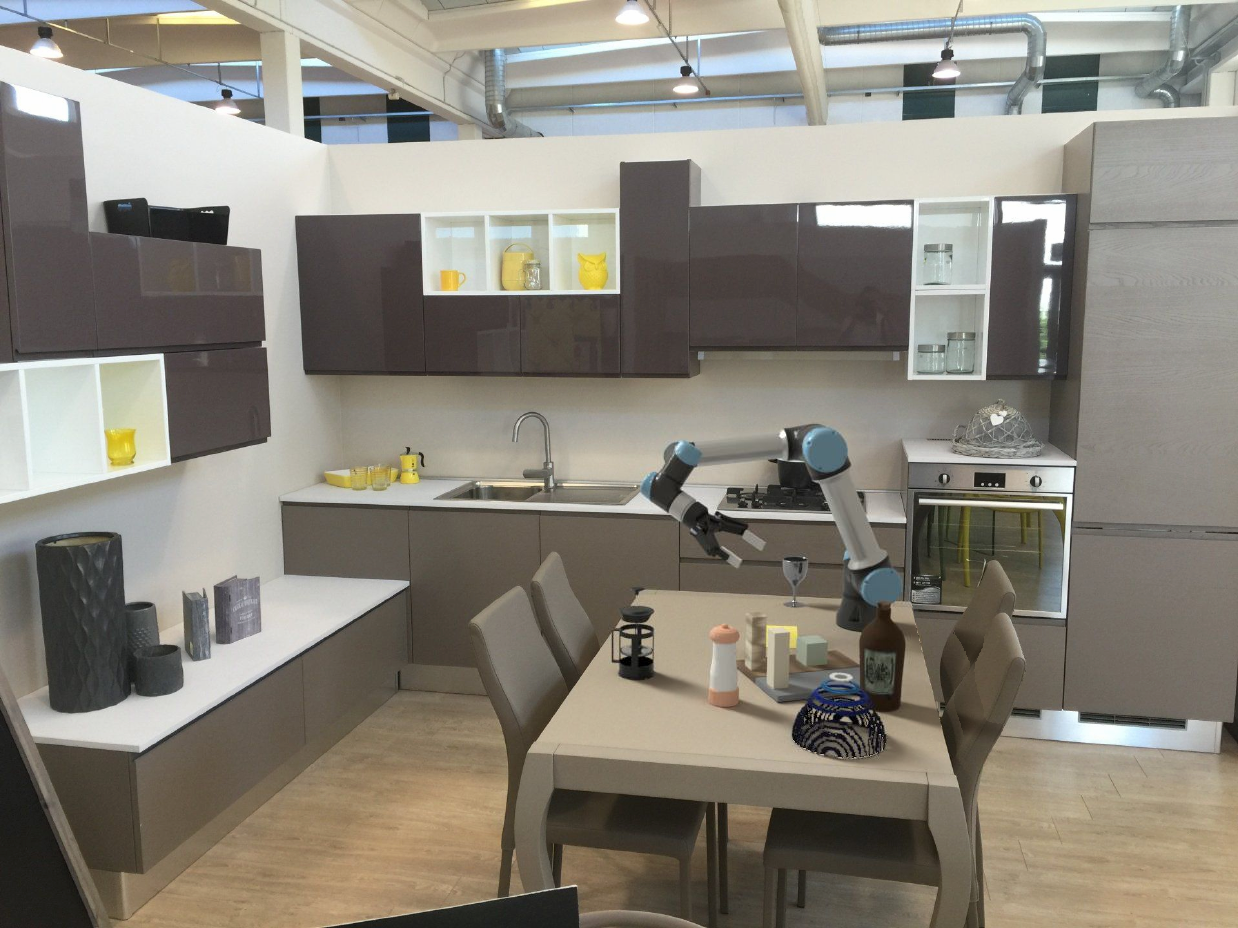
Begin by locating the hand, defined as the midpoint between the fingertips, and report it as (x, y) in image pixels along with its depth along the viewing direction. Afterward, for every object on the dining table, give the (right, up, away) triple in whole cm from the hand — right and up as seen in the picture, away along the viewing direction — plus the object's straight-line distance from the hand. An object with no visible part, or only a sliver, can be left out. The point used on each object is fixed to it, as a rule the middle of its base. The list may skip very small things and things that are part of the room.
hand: (751, 555), depth 269 cm
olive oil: (+26, -33, -29) cm, 51 cm away
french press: (-32, -30, -9) cm, 44 cm away
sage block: (+15, -27, -5) cm, 32 cm away
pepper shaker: (-11, -33, -28) cm, 44 cm away
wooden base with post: (+11, -29, -5) cm, 32 cm away
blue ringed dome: (+12, -36, -49) cm, 62 cm away
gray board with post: (+15, -31, -18) cm, 39 cm away
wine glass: (+21, -21, +54) cm, 62 cm away
